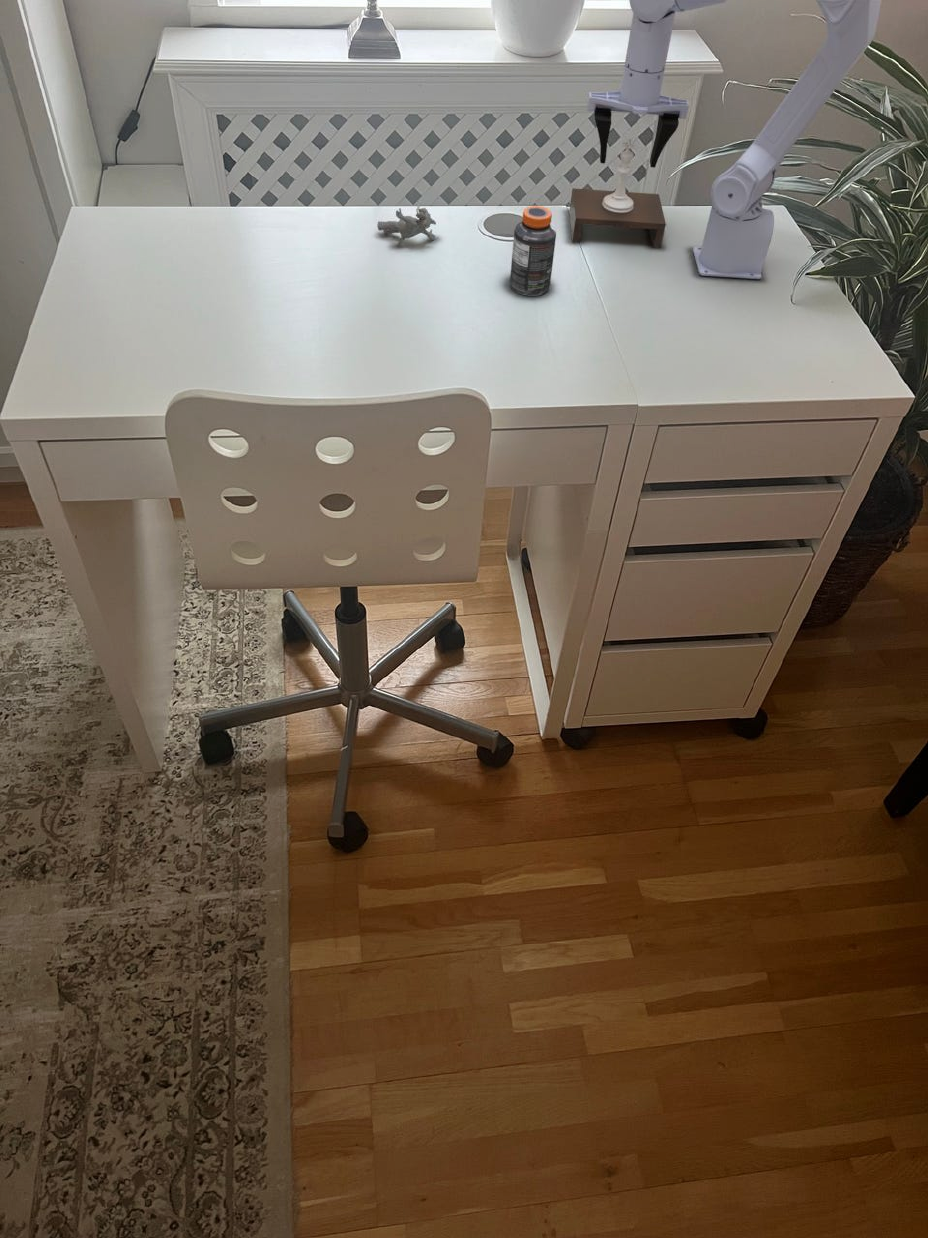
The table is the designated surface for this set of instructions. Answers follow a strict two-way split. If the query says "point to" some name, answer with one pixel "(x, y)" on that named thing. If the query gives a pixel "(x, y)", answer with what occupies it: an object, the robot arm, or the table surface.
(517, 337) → the table surface
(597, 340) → the table surface
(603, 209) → the walnut shelf
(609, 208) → the chess piece
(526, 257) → the pill bottle
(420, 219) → the grey creature figurine
